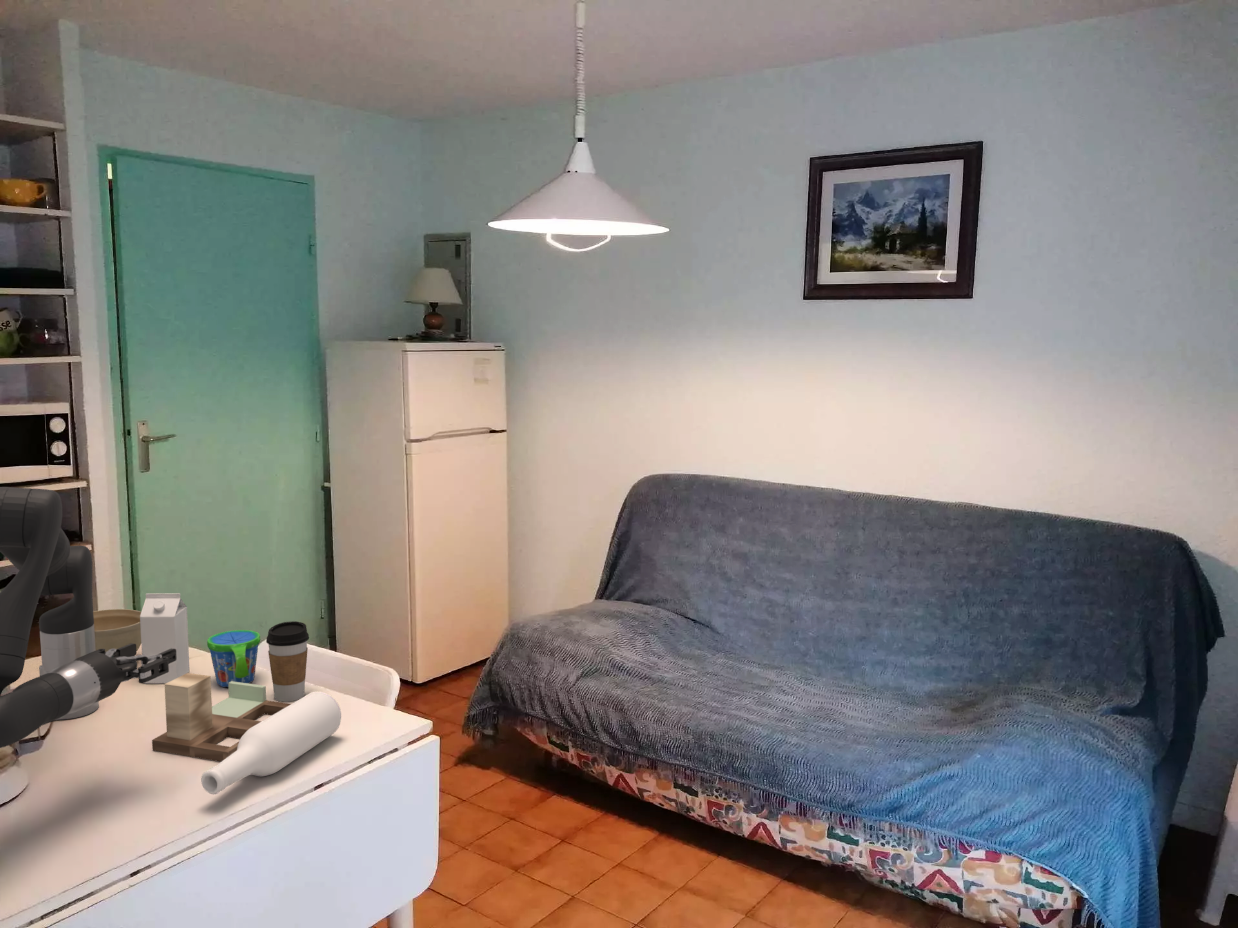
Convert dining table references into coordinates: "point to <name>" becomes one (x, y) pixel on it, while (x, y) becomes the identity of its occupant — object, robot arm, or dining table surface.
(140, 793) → the dining table surface
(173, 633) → the milk carton
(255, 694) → the green l-shaped block
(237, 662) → the snack cup
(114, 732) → the dining table surface
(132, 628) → the planter bowl
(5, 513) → the robot arm
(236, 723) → the brown wooden flat frame
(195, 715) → the maple block
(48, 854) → the dining table surface
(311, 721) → the alcohol
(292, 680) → the coffee cup
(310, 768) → the dining table surface
